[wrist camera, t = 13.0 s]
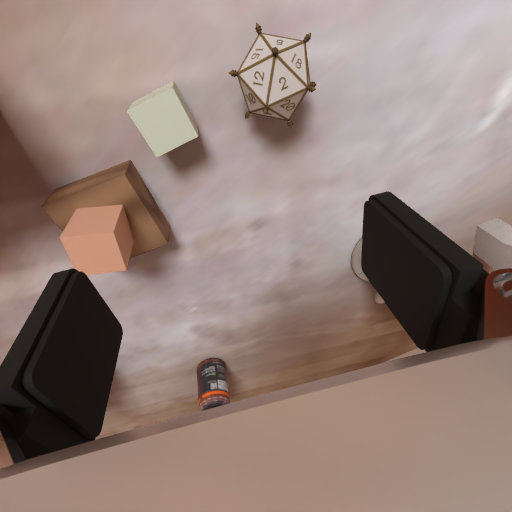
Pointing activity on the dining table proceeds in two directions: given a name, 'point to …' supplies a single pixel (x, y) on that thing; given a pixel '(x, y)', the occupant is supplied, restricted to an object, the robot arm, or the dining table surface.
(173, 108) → the sage cube
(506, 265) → the white block
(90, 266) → the terracotta block
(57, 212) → the walnut base block
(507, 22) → the dining table surface
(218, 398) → the supplement bottle
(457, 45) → the dining table surface
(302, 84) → the game die
